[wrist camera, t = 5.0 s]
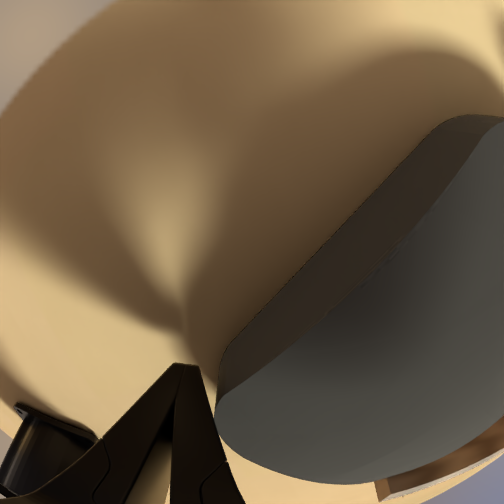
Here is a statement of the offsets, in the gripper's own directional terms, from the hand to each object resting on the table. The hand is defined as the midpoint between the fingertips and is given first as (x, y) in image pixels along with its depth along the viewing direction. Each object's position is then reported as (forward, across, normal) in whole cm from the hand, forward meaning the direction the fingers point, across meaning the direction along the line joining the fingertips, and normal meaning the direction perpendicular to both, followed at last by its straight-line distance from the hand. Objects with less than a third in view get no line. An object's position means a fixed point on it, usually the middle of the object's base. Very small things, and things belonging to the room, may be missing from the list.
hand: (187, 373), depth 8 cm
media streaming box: (+2, -10, 0) cm, 10 cm away
